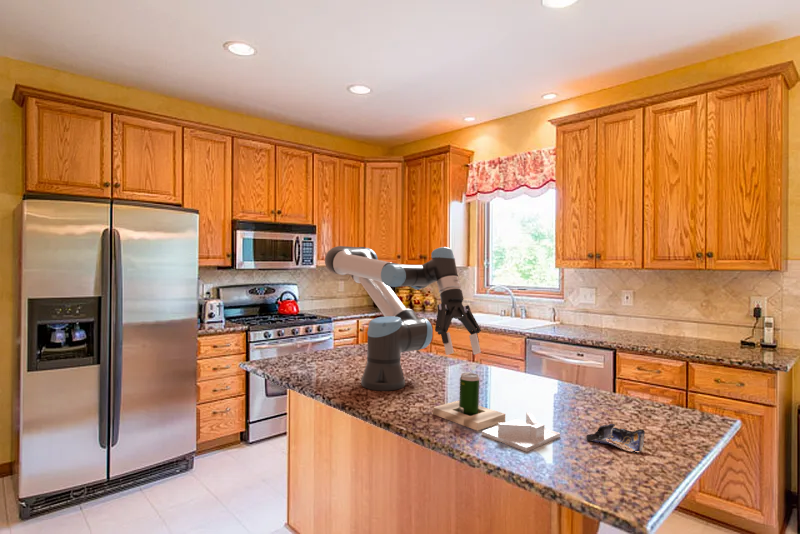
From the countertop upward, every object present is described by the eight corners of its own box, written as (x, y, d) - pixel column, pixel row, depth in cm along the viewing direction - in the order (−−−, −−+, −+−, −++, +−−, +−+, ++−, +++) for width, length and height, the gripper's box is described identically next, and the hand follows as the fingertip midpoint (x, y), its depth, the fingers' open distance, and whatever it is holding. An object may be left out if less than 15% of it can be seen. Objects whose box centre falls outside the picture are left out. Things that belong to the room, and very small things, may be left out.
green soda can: (467, 422, 124) (469, 378, 124) (454, 416, 129) (456, 373, 128) (482, 419, 127) (483, 376, 127) (469, 413, 131) (470, 371, 131)
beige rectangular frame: (432, 414, 130) (433, 407, 130) (460, 406, 138) (460, 399, 138) (477, 430, 118) (477, 423, 118) (505, 421, 126) (505, 413, 126)
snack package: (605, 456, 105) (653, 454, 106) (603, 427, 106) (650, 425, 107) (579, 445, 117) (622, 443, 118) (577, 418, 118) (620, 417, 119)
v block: (481, 435, 115) (482, 419, 115) (516, 422, 125) (516, 408, 125) (526, 452, 105) (527, 434, 105) (560, 437, 115) (560, 421, 115)
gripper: (432, 284, 143) (446, 350, 136) (481, 290, 160) (496, 350, 152) (416, 292, 148) (428, 356, 141) (465, 297, 165) (479, 356, 157)
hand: (464, 353), depth 146 cm, fingers open, 13 cm apart
